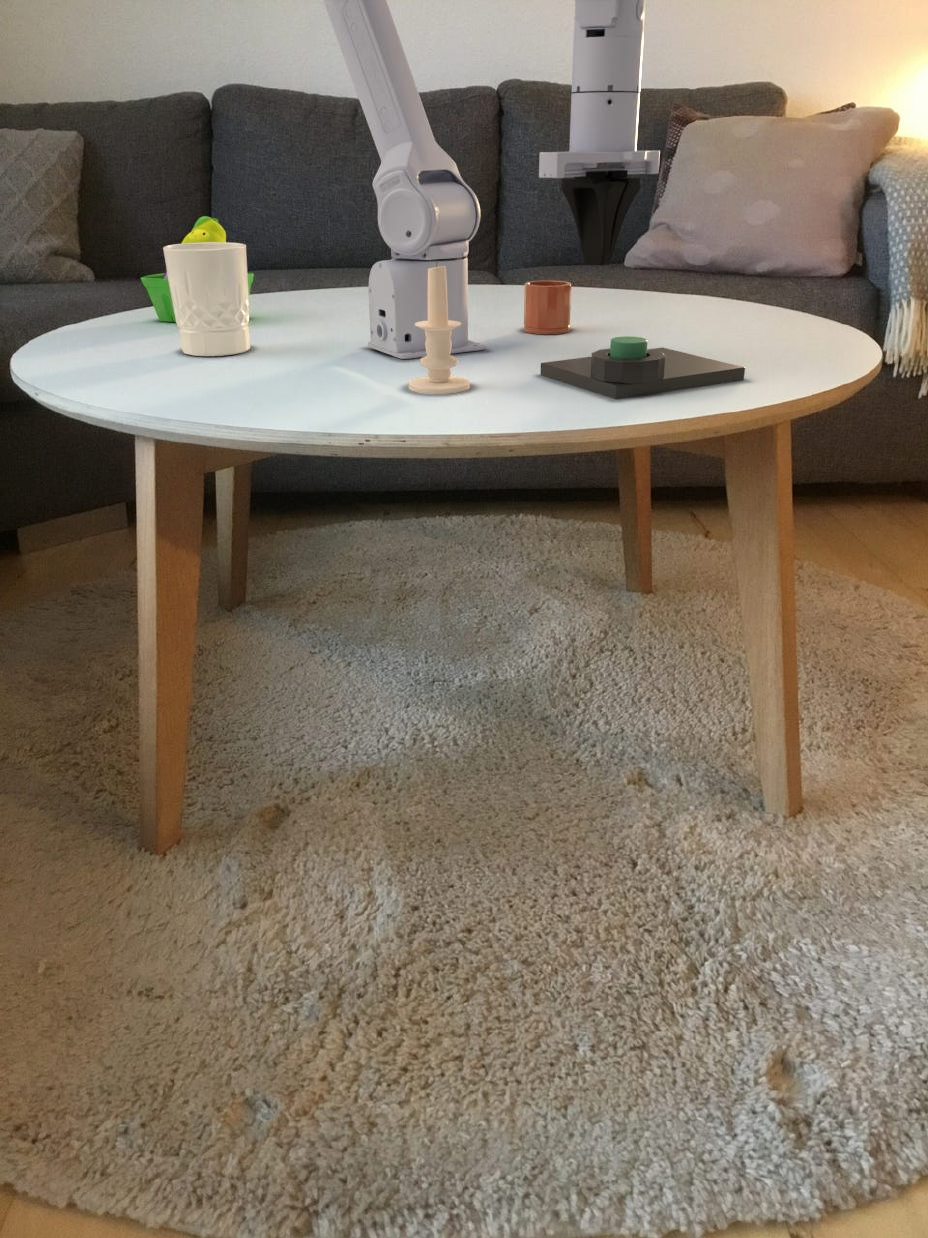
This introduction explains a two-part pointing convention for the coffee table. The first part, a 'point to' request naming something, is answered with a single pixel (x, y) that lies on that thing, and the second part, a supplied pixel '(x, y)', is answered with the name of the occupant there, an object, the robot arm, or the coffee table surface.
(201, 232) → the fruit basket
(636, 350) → the button
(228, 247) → the white cup
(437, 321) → the candle
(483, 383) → the coffee table surface
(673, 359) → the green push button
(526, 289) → the terracotta pot
